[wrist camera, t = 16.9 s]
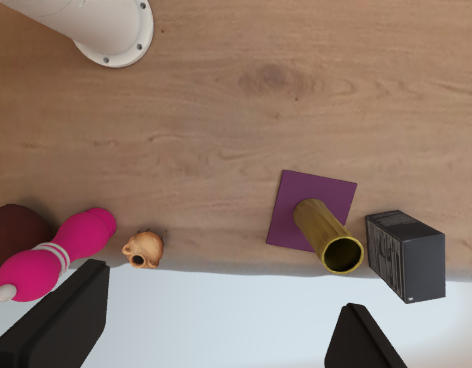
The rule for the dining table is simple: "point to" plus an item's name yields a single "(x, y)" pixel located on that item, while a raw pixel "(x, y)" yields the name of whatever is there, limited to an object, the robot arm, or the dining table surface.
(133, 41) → the robot arm
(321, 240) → the vase
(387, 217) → the small box
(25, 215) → the dark brown egg
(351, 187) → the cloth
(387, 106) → the dining table surface
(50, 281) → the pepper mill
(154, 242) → the pot
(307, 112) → the dining table surface
